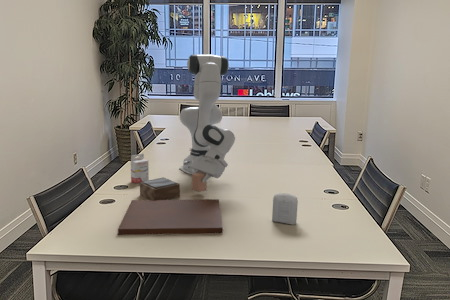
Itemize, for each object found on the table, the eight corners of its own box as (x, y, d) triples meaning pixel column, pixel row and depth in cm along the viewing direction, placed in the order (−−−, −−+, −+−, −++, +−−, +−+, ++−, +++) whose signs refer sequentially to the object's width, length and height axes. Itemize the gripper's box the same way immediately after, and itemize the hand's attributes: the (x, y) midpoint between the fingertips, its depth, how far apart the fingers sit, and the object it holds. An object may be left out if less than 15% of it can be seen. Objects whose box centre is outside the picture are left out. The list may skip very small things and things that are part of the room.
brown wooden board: (222, 234, 159) (219, 205, 191) (222, 227, 158) (219, 199, 190) (118, 236, 157) (132, 206, 189) (117, 229, 156) (131, 200, 188)
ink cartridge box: (135, 183, 220) (134, 157, 217) (130, 181, 224) (129, 155, 221) (149, 180, 226) (148, 154, 223) (144, 178, 230) (143, 153, 227)
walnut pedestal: (140, 195, 202) (139, 181, 200) (164, 189, 211) (163, 176, 209) (155, 202, 192) (154, 188, 190) (179, 196, 201) (179, 182, 199)
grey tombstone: (297, 221, 171) (299, 193, 168) (295, 225, 167) (296, 196, 164) (273, 218, 175) (274, 190, 172) (270, 221, 171) (271, 193, 168)
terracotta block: (192, 189, 204) (192, 174, 202) (200, 187, 207) (200, 172, 205) (198, 192, 200) (198, 176, 198) (206, 189, 203) (206, 174, 201)
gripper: (197, 150, 211) (182, 172, 207) (223, 158, 197) (207, 181, 192) (204, 157, 215) (189, 178, 211) (230, 165, 200) (214, 188, 196)
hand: (198, 180), depth 202 cm, fingers closed on terracotta block, 5 cm apart
